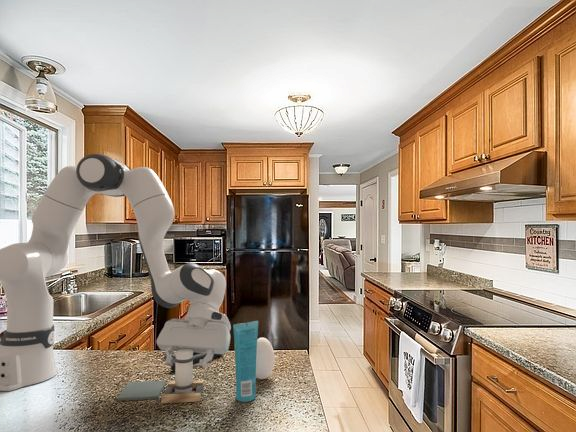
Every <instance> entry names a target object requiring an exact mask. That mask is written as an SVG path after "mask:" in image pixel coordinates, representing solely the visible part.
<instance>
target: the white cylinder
mask: <svg viewBox="0 0 576 432" xmlns="http://www.w3.org/2000/svg"><path fill="white" fill-rule="evenodd" d="M175 354H176V357H175V361H174V362H176V363H175V371H174V372H175V373H174V375H175V376H174V382H175V389H174V394H184V393H193V389H192V386H193V381H194V380H193V376H194V375H193V374H194V373H193V372H194V371H193V370H194V367H193V350H191V349H181V350H178V351H175Z"/></svg>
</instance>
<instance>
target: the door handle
mask: <svg viewBox="0 0 576 432" xmlns="http://www.w3.org/2000/svg"><path fill="white" fill-rule="evenodd" d="M163 355H164V356H163V357H164V358H165V357H166V358H167V355H166V352H164V354H163ZM206 355H207V353H197V352H193V368H194V367H197V366H198V365H199V363H200V362H199V361H200V359H204V358H205V356H206ZM223 355H224V354H214V355H213V358H212V359H211V360H210V361H209V362H211V361H213V359H217V358H220V357H222V356H223ZM171 357H172V358H173V359H174V362H173V365H172V366H170V370H171V371H172V372H175V363H176V362H175V357H176V353H175V352H173V354H171Z"/></svg>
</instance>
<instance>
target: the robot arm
mask: <svg viewBox="0 0 576 432" xmlns="http://www.w3.org/2000/svg"><path fill="white" fill-rule="evenodd" d="M76 165H77V166H75V165H73V166H72V165H70V166H69V165H67V166H64V167H63V168H61V169H60V170H59V171H58V173H57V174H56V175H55V177H54V178H53V179H52V180H51V181H50V184H49V185H48V187H47V188H46V190H45V192H44V194H43V195H42V197H41V199H40V201H39V202H38V204H37V207H35V210H34V212H33V214H32V215H31V223H32V231H31V235H30V238H29V240H28V241H27V242H16V243H12V244H10V245H8V246H4V247H2V248H0V284H1V285H2V289H3V291H4V295H5V299H6V300H5V301H6V329H5V330H3V331H1V332H0V391H1V392H2V391H3V392H8V391H9V392H10V391H14V390H17V389H20V388H23V387H27V386H31V385H35V384H38V383H42V382H44V381H45V382H46V381H47V380H49V379H51V378H53V377H55V376H56V375H57V374H58V368H57V364H56V359H55V354H54V353H55V352H54V343H55V324H54V301H55V300H54V298H53V296H52V295H51V294H50V293H49V289H48V287H47V282H46V278H49V277H51V276H54V275H56V274H57V273H58V272H59V273H60V271H61V270H63V269H64V268H65V266H66V265H67V263H68V248H69V244H70V240H71V236H72V234H73V231H74V229H75V227H76V226H77V223H78V221H79V219H80V217H81V215H82V213H83V212H84V210H85V207H86V205H87V204H88V202H89V201H90V199H91V198H92V197H93V196H95V195H96V194H99V195H102V196H110V197H114V198H119V197H126V199H127V201H128V203H129V205H130V207H131V209H132V211H133V214H134V216H135V219H136V223H137V228H138V243H139V246H140V250H141V253H142V257H143V260H144V262H145V266H146V269H147V271H148V272H147V273H148V275H149V279H150V288H151V294H152V297H153V299H154V301H155V302H156V303H157V304H158V305H160V306H161V307H162V308H165V309H171V308H175V307H177V306H178V305H180V304H182V302H184V301H186V300H187V301H189V303H190V305H189V307H188V309H187V313H186V315H185V318H171V319H169V320H167V321H166V322H165V323H164V326H163V328H162V329H161V331H160V333H159V335H158V337H157V338H156V345H157V346H158V348H159V349H160V350H161V351H165V353H166V355H167V358H166V359H165V361H164V364H165V365H166V366H168V367H171V366H172V365H173V362H175V361H174V359H173V358H172V357H171V354H173V353H175V352H176V351H178V350H181V349H191V350H193V352H197V353H207V355H206V356H205V358H204V359H200V361H199V362H200V363H199V365H197V366H198V367H199V369H206V367H207V364H208V363H209V362H211V361H210V360H211V359H212V358H213V355H214V354H223V355H225V354H227V352H229V349H230V344H231V333H230V332H231V329H232V326H231V322H230V321H229V318H228V316H227V315H226V314H225V313H222V312H220V307H221V306H222V304H223V301H224V299H225V296H226V289H227V280H226V276H225V275H224V274H223V272H220V270H216V269H214V268H212V269H205V268H203V267H202V266H201V265H199V264H197V263H194V262H187V263H185V264H183V265H181V266H179V267H177V268H175V269H174V270H172V271H171V270H170V268H169V265H168V264H169V263H168V262H167V258H166V255H165V251H164V247H163V245H164V244H163V243H164V238H165V237H166V234H167V232H168V230H169V228H170V227H171V226H172V224H173V222H174V219H175V214H176V212H175V208H174V205H173V201H172V200H171V197H170V196H169V193H168V191H167V190H166V188H165V186H164V184H163V182H162V180H161V179H160V177H159V176H158V175H157V173H156V172H155V171H154V170H153V169H152V168H150V167H147V166H139V167H138V166H137V167H135V168H130V167H129V166H128V165H126V164H124V163H123V162H121V161H120V160H118V159H116V158H111V157H109V156H107V155H105V154H100V153H99V154H98V153H91V154H88V155H85V156H83V157H82V158H81V159H80V160H79V162H78V163H77V164H76ZM212 360H213V359H212Z"/></svg>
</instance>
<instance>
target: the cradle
mask: <svg viewBox="0 0 576 432" xmlns="http://www.w3.org/2000/svg"><path fill="white" fill-rule="evenodd" d="M192 381H193V386H192V390H193V389H195V392H192V393H184V394H175V393H173V391H174V390H175V381H168V383H167V386H166V388H165V391H164V393H163V394H162V395H161V400H160V402H161V403H160V404H177V403H191V402H192V403H194V402H195V403H196V402H198V403H199V402H201V398H202V395H203V389H204V385H205V383H204V381H205V380H203V379H201V380H192Z"/></svg>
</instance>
